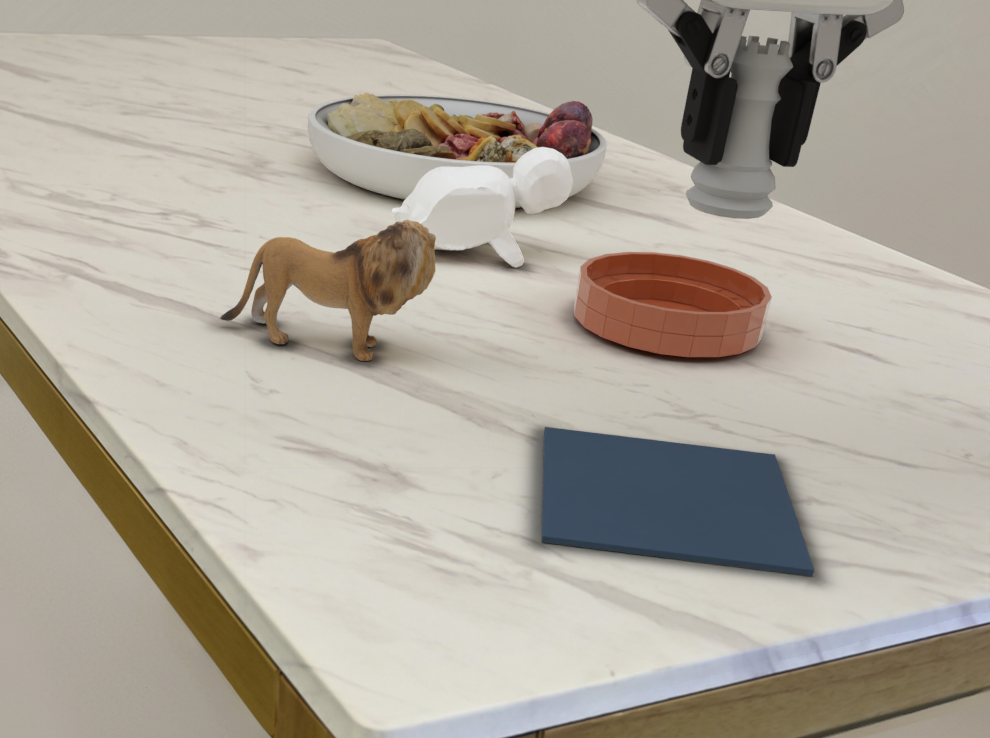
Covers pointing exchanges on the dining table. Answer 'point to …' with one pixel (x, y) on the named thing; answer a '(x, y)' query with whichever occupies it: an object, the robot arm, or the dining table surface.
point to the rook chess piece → (745, 137)
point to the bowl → (445, 138)
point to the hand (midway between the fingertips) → (739, 155)
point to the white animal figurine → (486, 201)
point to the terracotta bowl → (671, 304)
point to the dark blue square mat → (669, 501)
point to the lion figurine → (343, 278)
